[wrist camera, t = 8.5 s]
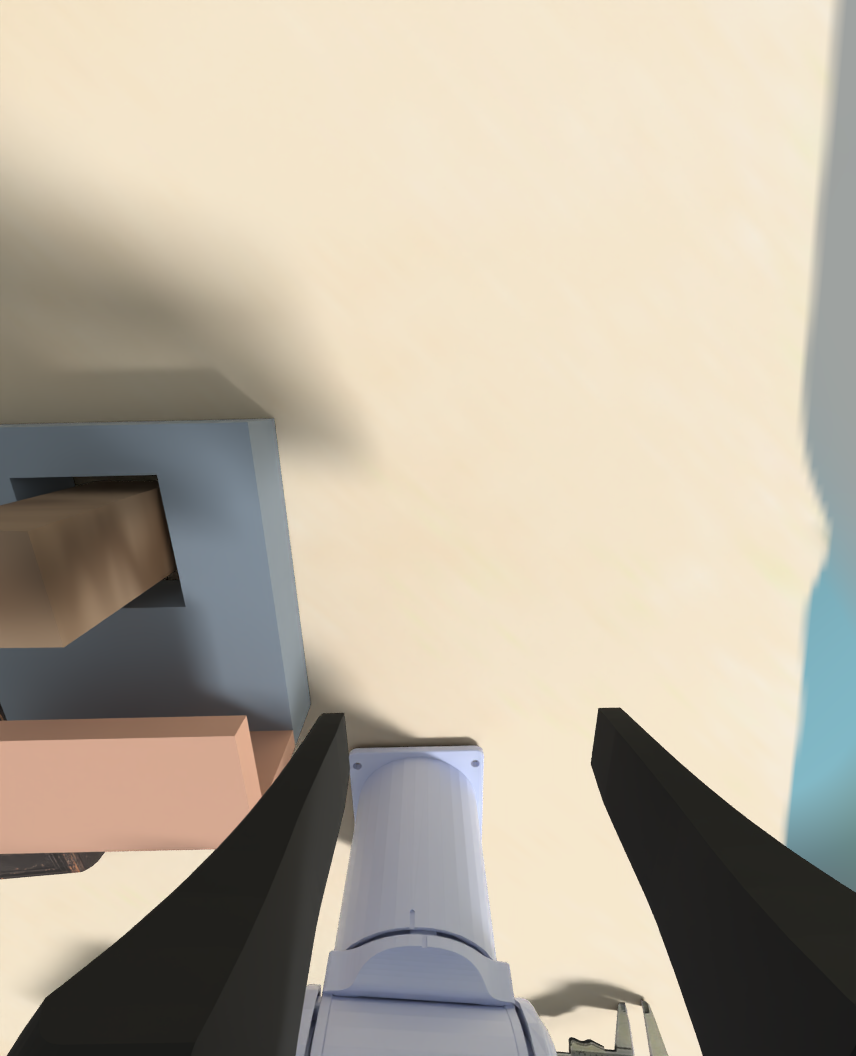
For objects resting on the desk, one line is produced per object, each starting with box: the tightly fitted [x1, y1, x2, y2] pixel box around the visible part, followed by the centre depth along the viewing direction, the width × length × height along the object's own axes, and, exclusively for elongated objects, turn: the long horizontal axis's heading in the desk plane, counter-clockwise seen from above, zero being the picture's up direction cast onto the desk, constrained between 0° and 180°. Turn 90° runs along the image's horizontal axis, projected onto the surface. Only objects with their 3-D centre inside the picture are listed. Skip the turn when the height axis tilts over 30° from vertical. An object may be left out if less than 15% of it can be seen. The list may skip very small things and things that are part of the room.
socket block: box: [0, 419, 311, 745], centre depth 20 cm, size 16×14×3 cm
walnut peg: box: [0, 481, 177, 648], centre depth 17 cm, size 4×4×8 cm
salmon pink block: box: [0, 715, 295, 854], centre depth 18 cm, size 6×14×5 cm, turn 91°
